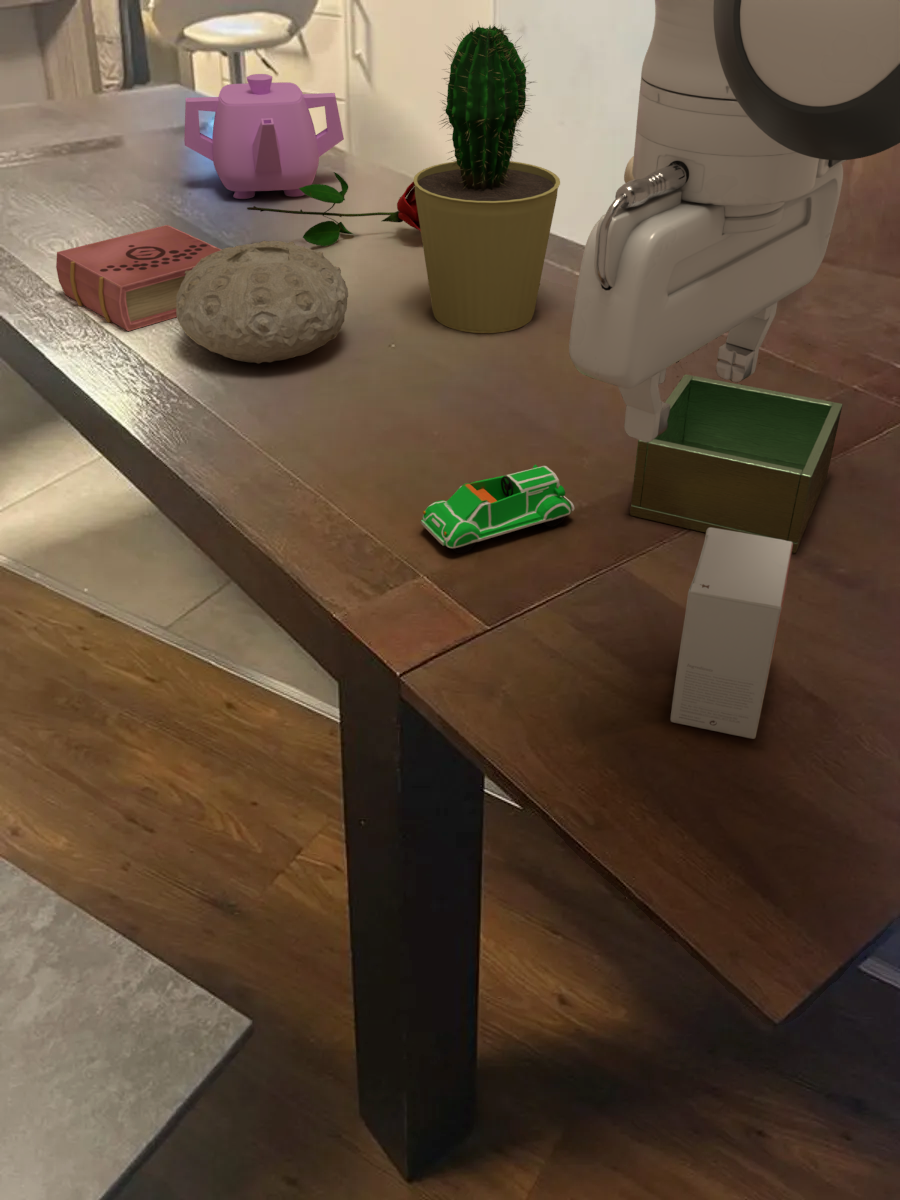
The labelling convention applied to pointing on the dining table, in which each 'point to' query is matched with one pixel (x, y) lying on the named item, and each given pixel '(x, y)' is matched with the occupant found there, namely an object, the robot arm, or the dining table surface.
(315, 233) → the flower
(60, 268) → the book
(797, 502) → the open box
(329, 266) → the decorative shell
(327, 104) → the teapot
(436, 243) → the potted cactus
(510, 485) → the toy car
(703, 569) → the small box
